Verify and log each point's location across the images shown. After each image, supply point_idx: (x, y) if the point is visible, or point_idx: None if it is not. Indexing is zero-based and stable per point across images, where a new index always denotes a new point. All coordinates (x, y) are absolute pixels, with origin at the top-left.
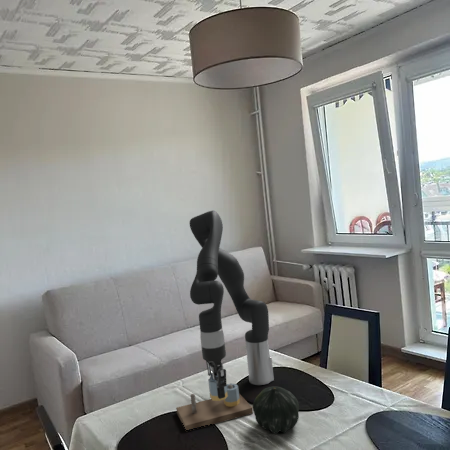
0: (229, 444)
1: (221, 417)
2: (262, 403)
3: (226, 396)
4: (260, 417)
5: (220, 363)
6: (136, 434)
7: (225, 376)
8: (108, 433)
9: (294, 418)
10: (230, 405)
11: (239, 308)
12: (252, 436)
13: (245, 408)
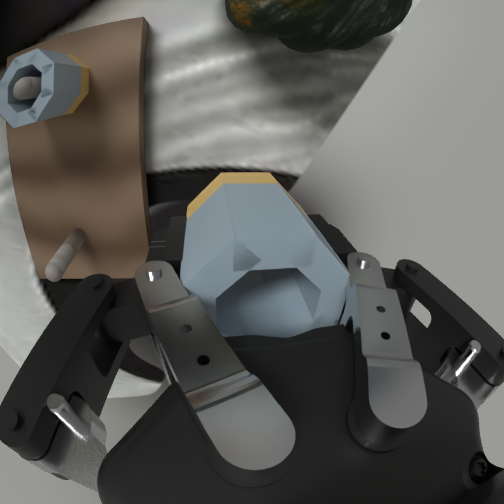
0: (299, 168)
1: (140, 147)
2: (362, 17)
3: (282, 187)
4: (340, 46)
5: (478, 442)
6: (129, 357)
7: (478, 323)
8: (113, 387)
9: None
10: (83, 96)
11: None
12: (300, 84)
13: (132, 42)
